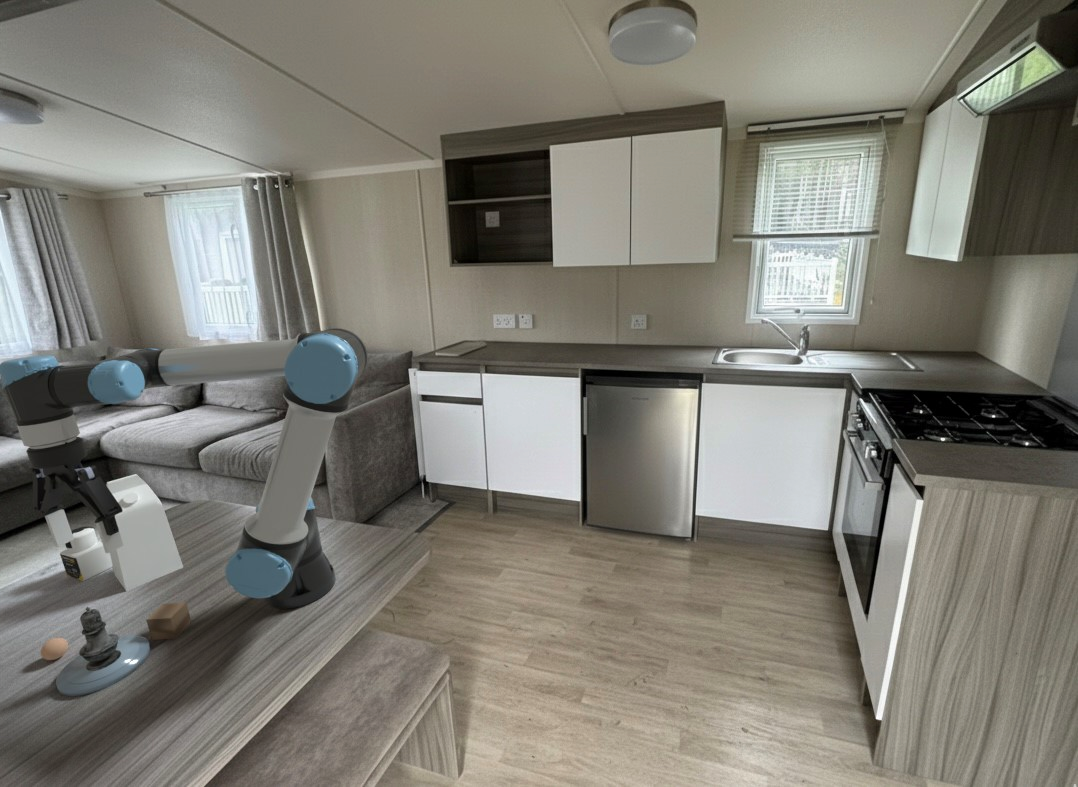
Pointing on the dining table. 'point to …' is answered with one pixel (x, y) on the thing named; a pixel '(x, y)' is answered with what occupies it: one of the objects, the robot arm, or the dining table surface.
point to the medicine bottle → (85, 555)
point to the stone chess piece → (97, 642)
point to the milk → (141, 534)
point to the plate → (84, 681)
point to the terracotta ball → (54, 648)
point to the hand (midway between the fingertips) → (89, 546)
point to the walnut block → (168, 621)
